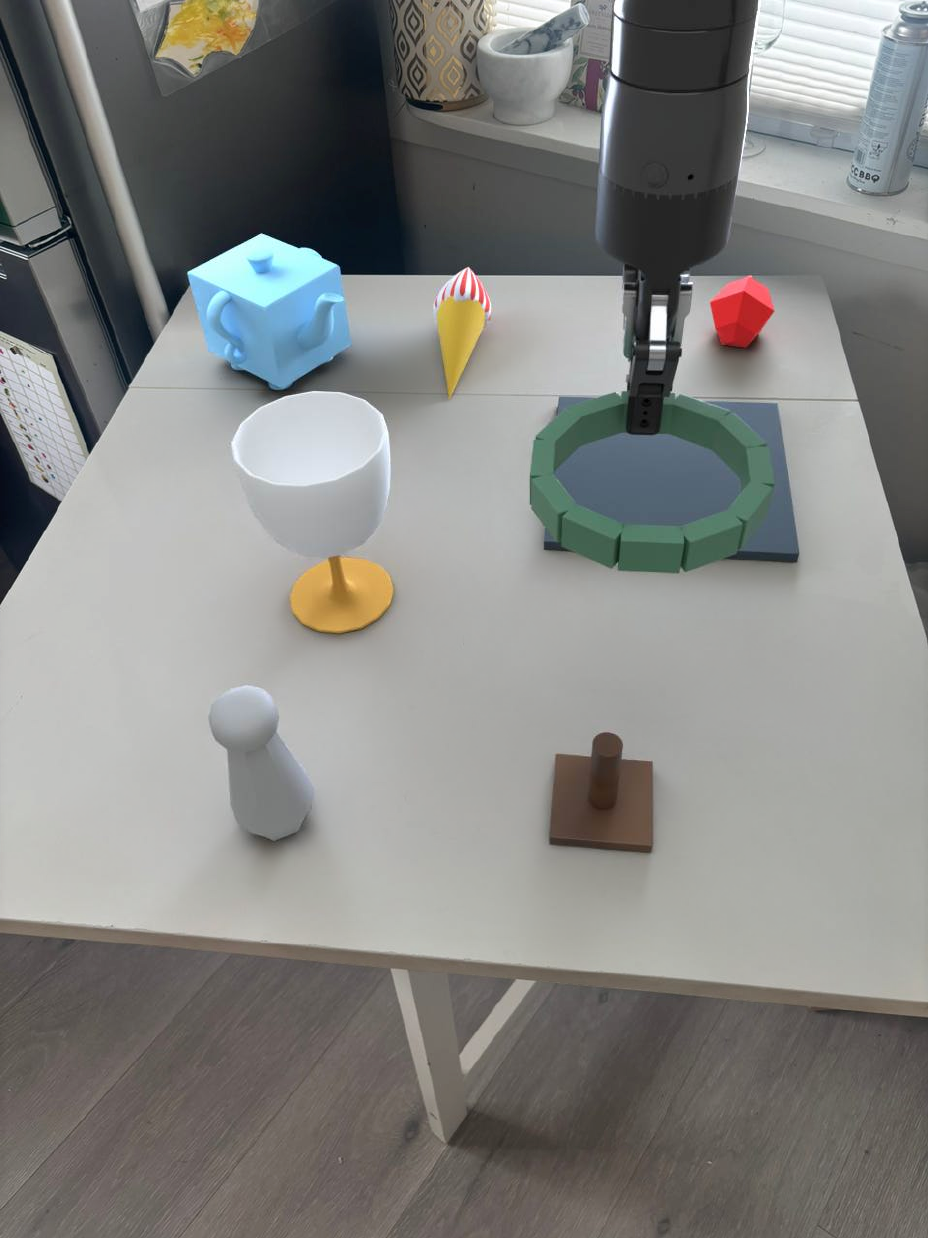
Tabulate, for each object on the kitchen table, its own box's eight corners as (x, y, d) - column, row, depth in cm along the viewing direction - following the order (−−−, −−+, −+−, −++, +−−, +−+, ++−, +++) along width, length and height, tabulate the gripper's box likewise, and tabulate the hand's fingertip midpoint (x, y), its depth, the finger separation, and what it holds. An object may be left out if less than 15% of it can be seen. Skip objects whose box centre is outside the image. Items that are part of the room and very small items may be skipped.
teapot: (193, 373, 111) (162, 265, 101) (296, 313, 118) (275, 207, 109) (304, 433, 102) (280, 320, 93) (406, 364, 110) (394, 253, 100)
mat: (776, 411, 101) (777, 402, 100) (797, 562, 86) (799, 553, 85) (558, 404, 103) (558, 396, 103) (543, 549, 89) (543, 541, 88)
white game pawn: (246, 780, 74) (204, 669, 64) (323, 780, 73) (291, 668, 64) (231, 851, 70) (184, 743, 60) (312, 851, 69) (277, 743, 60)
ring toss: (651, 768, 73) (661, 705, 67) (651, 853, 68) (662, 793, 62) (555, 760, 73) (557, 698, 68) (549, 844, 69) (550, 785, 63)
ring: (754, 424, 66) (760, 394, 64) (776, 578, 56) (785, 547, 55) (537, 418, 67) (538, 388, 66) (523, 566, 58) (523, 536, 56)
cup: (299, 665, 81) (256, 506, 68) (257, 575, 88) (211, 417, 76) (430, 615, 84) (412, 455, 71) (379, 533, 91) (354, 374, 79)
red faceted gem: (763, 319, 102) (780, 258, 105) (699, 318, 106) (716, 259, 108) (770, 361, 108) (786, 303, 111) (708, 359, 111) (725, 302, 114)
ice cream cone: (443, 427, 109) (462, 295, 118) (489, 407, 105) (505, 273, 115) (406, 394, 105) (429, 260, 114) (453, 372, 101) (473, 236, 110)
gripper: (751, 217, 48) (704, 491, 61) (731, 107, 57) (694, 365, 70) (596, 216, 49) (582, 487, 62) (601, 108, 58) (587, 363, 71)
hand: (642, 421), depth 66 cm, fingers closed on ring, 1 cm apart
